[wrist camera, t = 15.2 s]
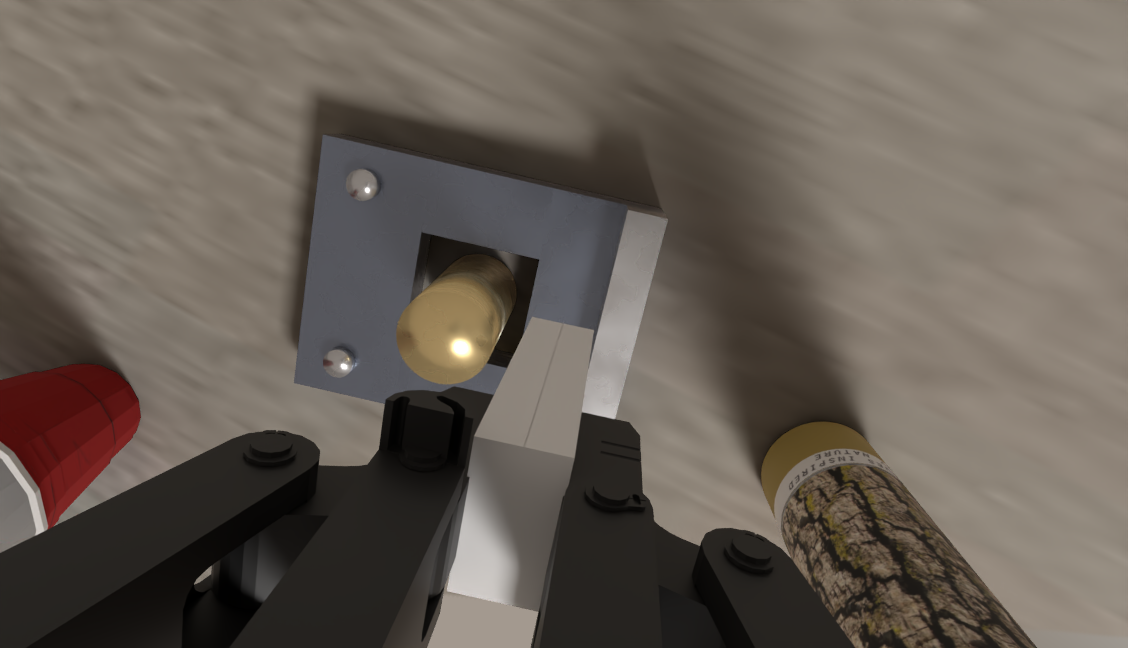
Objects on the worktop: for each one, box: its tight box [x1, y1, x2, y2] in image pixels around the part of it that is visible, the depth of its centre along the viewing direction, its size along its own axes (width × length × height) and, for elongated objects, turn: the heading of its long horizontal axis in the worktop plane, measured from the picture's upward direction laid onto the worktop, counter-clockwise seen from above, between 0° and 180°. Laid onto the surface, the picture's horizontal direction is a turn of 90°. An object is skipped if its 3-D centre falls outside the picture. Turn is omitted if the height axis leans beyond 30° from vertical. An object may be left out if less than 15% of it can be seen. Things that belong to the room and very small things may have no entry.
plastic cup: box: [0, 364, 141, 553], centre depth 38 cm, size 11×11×12 cm
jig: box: [294, 134, 668, 419], centre depth 38 cm, size 18×14×4 cm
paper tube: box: [761, 422, 1037, 648], centre depth 30 cm, size 7×7×25 cm
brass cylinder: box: [396, 254, 517, 384], centre depth 35 cm, size 4×4×9 cm
